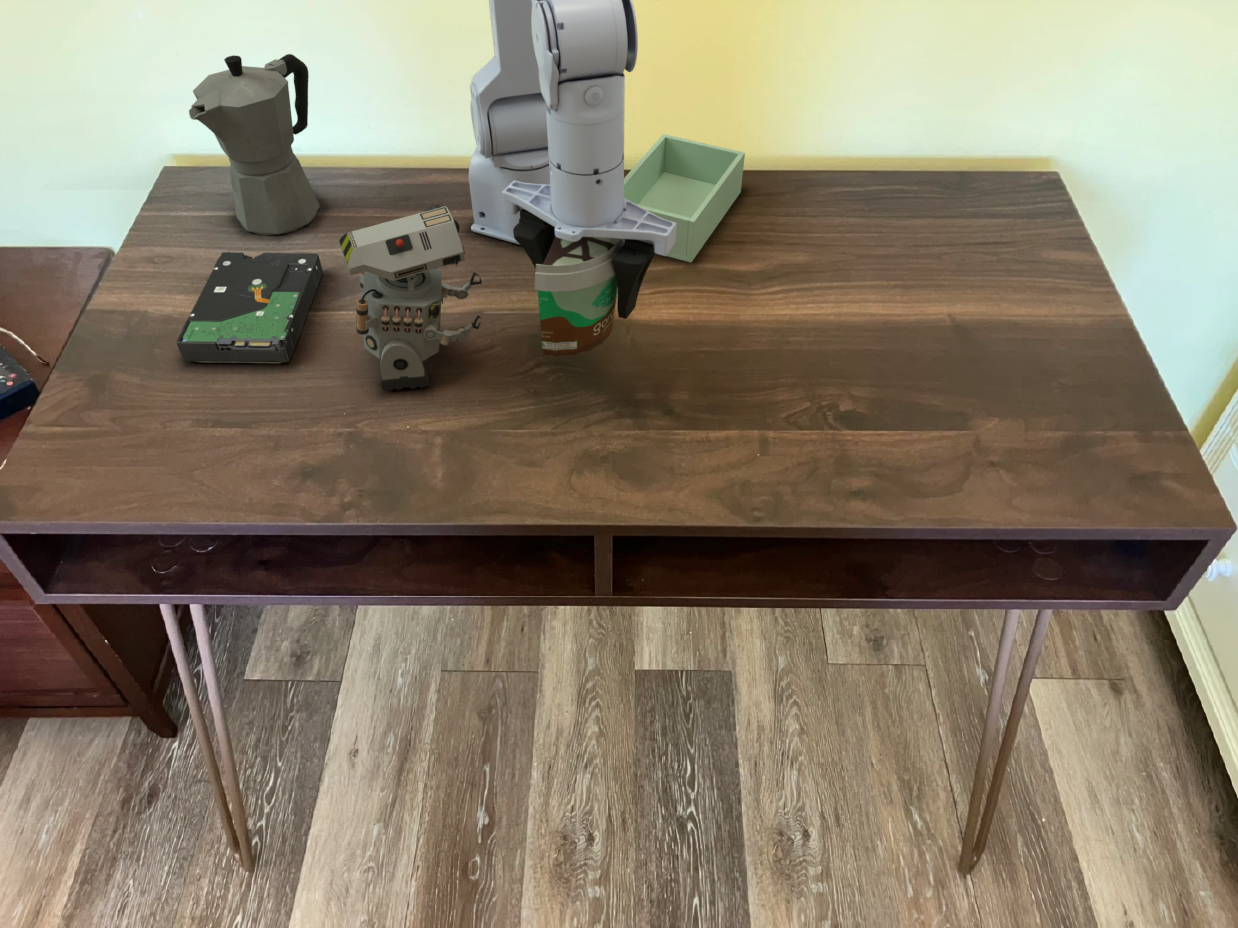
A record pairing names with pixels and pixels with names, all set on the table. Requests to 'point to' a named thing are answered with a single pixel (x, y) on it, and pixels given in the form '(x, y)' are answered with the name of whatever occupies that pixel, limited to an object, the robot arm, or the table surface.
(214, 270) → the disk drive
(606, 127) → the robot arm
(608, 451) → the table surface
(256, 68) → the coffeepot
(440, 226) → the figurine
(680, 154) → the storage bin
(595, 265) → the food container
